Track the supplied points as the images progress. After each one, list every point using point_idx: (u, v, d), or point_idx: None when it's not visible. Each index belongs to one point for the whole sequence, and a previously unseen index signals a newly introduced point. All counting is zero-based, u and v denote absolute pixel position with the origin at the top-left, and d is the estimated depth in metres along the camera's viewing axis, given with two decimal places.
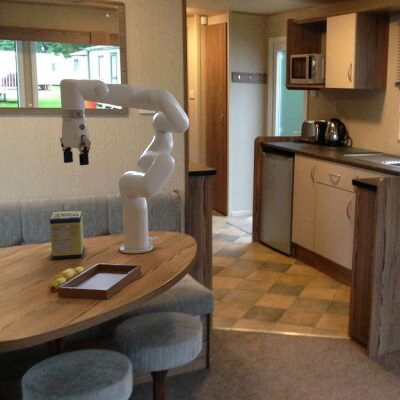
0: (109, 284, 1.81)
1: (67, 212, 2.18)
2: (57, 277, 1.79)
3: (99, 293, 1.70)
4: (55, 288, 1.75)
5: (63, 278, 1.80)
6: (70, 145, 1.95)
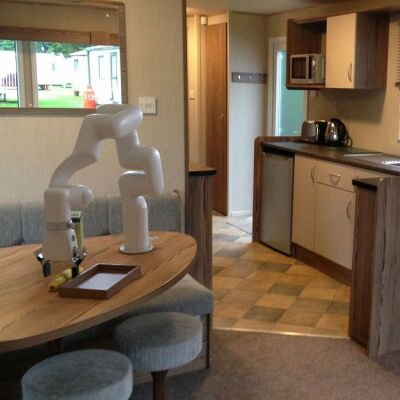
0: (109, 284, 1.81)
1: None
2: (56, 277, 1.80)
3: (99, 293, 1.70)
4: (54, 287, 1.75)
5: (62, 278, 1.80)
6: (58, 259, 1.81)
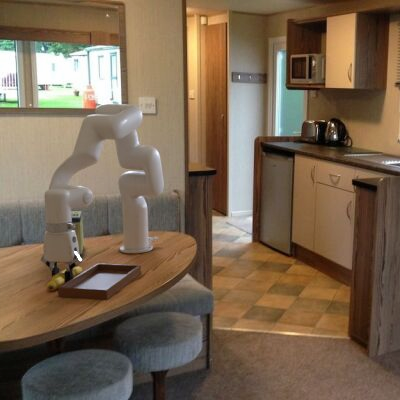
0: (109, 284, 1.81)
1: None
2: (54, 277, 1.80)
3: (99, 293, 1.70)
4: (53, 287, 1.75)
5: (60, 277, 1.80)
6: (59, 260, 1.81)
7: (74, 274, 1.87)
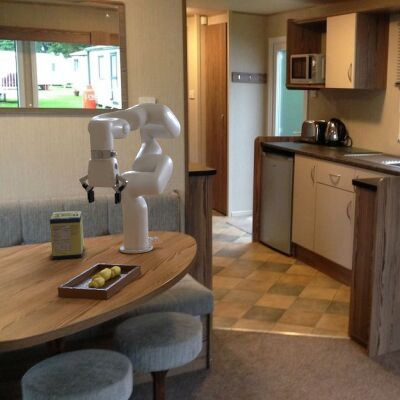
0: (109, 284, 1.81)
1: (67, 212, 2.18)
2: (95, 277, 1.78)
3: (99, 293, 1.70)
4: (95, 287, 1.74)
5: (101, 277, 1.79)
6: (102, 185, 1.95)
7: (113, 274, 1.86)
